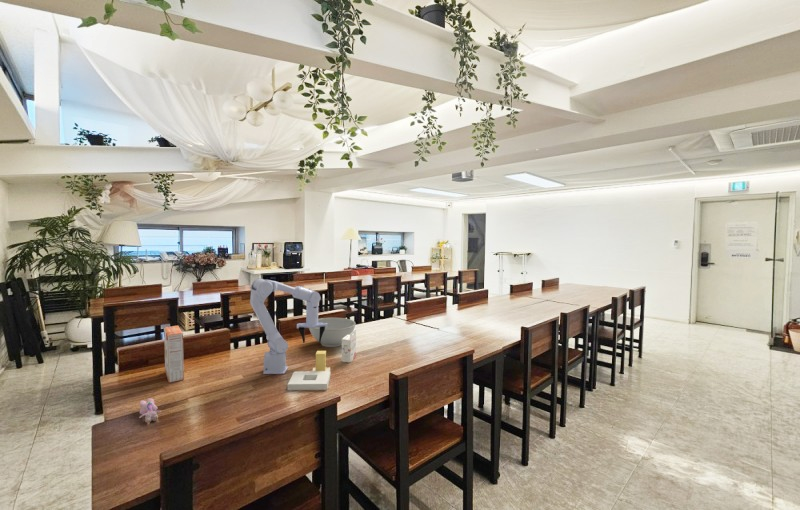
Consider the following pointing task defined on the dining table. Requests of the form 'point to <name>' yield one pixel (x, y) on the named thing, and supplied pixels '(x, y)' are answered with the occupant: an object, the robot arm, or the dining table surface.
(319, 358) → the block
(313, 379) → the holder
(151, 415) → the pink toy figurine
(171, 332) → the cracker box
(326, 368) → the mat
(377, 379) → the dining table surface
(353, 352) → the ink cartridge box
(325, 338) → the decorative bowl
